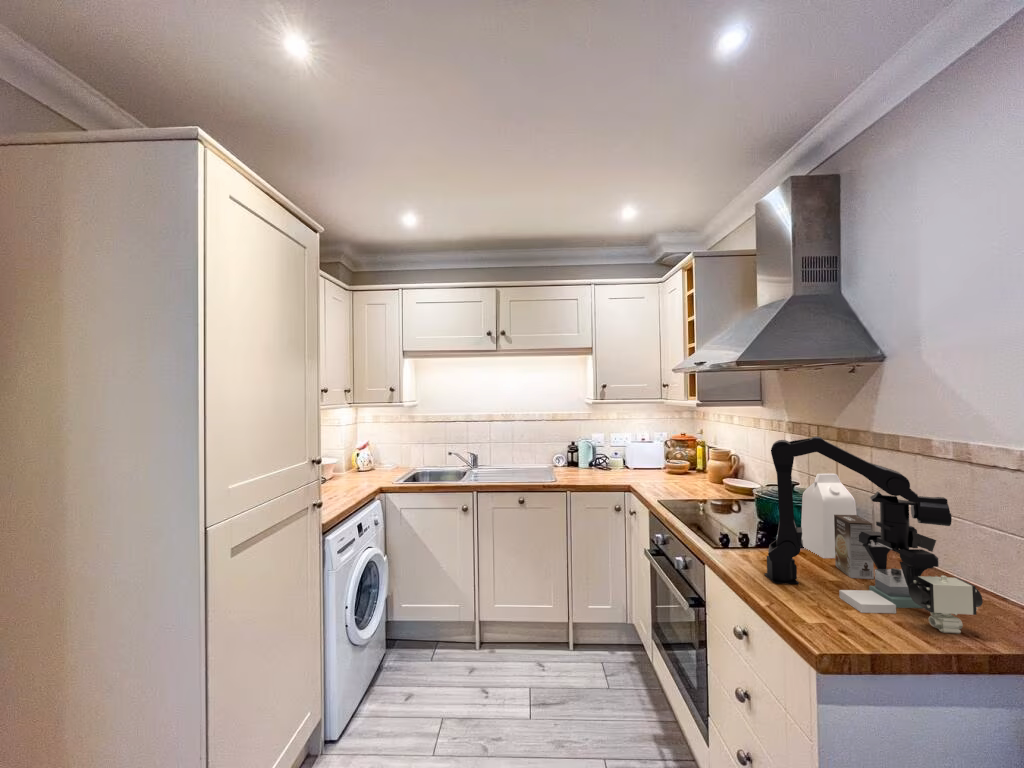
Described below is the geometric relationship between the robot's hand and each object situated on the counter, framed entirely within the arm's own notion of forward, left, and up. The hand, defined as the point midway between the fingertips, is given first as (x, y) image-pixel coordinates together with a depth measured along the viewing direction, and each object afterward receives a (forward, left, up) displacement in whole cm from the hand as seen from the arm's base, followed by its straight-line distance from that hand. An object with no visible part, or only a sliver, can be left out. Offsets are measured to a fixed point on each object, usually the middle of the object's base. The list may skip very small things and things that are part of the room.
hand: (896, 581), depth 115 cm
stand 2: (0, 0, -5) cm, 5 cm away
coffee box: (+2, +18, -5) cm, 19 cm away
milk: (+6, +36, -5) cm, 37 cm away
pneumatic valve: (0, -14, -5) cm, 15 cm away
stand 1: (-9, -3, -5) cm, 11 cm away
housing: (0, 0, -3) cm, 3 cm away
